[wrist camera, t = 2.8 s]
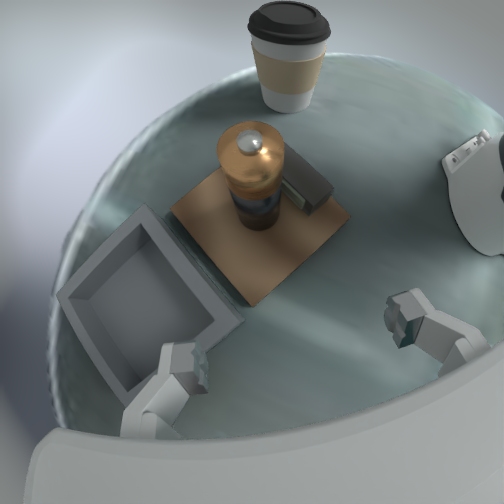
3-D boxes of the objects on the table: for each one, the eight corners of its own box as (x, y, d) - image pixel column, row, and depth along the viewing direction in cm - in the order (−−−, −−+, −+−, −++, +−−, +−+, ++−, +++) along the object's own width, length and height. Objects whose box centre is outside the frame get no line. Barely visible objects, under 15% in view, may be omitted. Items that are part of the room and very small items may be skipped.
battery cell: (260, 184, 29) (252, 104, 17) (288, 212, 28) (299, 141, 16) (229, 209, 29) (200, 140, 16) (256, 239, 28) (245, 182, 15)
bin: (162, 218, 31) (144, 203, 26) (245, 320, 28) (240, 322, 23) (81, 298, 29) (55, 294, 24) (147, 398, 26) (128, 411, 21)
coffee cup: (299, 72, 35) (305, -8, 20) (330, 109, 33) (350, 23, 18) (244, 86, 34) (233, 2, 20) (270, 127, 32) (268, 32, 18)
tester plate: (263, 141, 32) (262, 119, 28) (347, 220, 29) (359, 206, 25) (173, 213, 31) (159, 198, 26) (253, 307, 28) (249, 306, 23)
